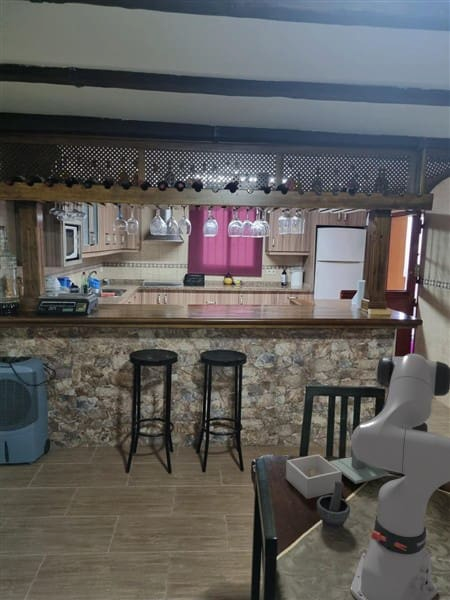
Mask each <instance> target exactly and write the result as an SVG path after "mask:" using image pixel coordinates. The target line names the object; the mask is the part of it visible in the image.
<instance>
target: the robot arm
mask: <svg viewBox="0 0 450 600" xmlns="http://www.w3.org/2000/svg"><path fill="white" fill-rule="evenodd" d="M374 373H375V379H376V381H377V383H378V385H379V386H381V388H382V387H383V388H386V389H388V391H387V396H386V399H385V402H384V404H383V407H382V410H381V411H380V412H379V413H378V414H377V415H376V416H375V417H373V418H372V419H370V420H368V421H365V422H362V423H360V424H359V425H357V427H355V429H354V430H353V433H352V434H351V436H350V446H351V451H352V450H353V453H354V455H355V457H356V458H357V459H358V460H359V461H362V462H364V463H366V464H368V465H371V466H373V467H376V468H381V469H384V470H385V471H392V472H394V473H400V474H402V475H404V476H402V477H400V478H397V479H393V480H389V481H387V482H386V483H384V484H383V485H382V486H381V487H380V489H379V491H378V497H377V498H378V500H377V501H378V503H377V514H376V515H375V521H374V525H373V530H371V534H370V535H371V536H370V540H369V543H368V545H367V546H368V547H367V549H365V552H363V553H362V554H361V557H360V560H359V563H358V565H357V569H356V571H355V574H354V577H353V579H352V582H351V585H350V593H351V595H353V597H354V598H355V599H356V600H432V599H433V598H434V597H435V596H436V595H438V588H437V585H436V584H435V583H434V582H433V581H432V557H431V555H430V553H429V551H428V549H427V547H426V543H427V542H426V540H427V529H426V526H425V524H426V523H425V522H426V513H427V508H428V503H429V500H430V498H431V496H432V495H433V494H434V492H436V490H437V489H439V488H440V487H442V486H443V485H445V484H447V483H450V438H449V437H447V436H444V435H442V434H438V433H436V432H430V431H429V430H428V424H427V423H426V422H427V421H428V420H429V418H430V417H431V414H432V405H433V404H432V402H433V400H432V399H433V396H434V397H445V396H446V395H448V394H449V393H450V366H449V365H448V364H446V363H444V362H442V361H439V360H436V361H433V360H431V359H430V360H429V359H427V358H426V357H425V356H423V355H421V354H418V353H408V354H405V355H404V356H393V355H383V356H381V357H380V358H379V359H378V361H377V363H376V365H375V369H374Z"/></svg>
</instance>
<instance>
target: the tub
mask: <svg viewBox="0 0 450 600" xmlns="http://www.w3.org/2000/svg"><path fill="white" fill-rule="evenodd" d="M285 463H286V465H285V467H286V468H285V479H286V480H287V481H288V482H289V484H291V485H292V486H293V487H294V488H295V489H297V491H298V492H299V493H300V494H301V495H303V497H305V499H308V500H309V499H312V498H315V497H322V496H326V495H330V494H333V491H334V488H335V481H339V482H342V477H343V476H342V475H343V474H342V471H340V470H339V469H338V468H336V467H335V466H334V465H332V464H331V463H330V462H329V461H328V459H325V457H323V456H321V455H320V454H319V453H317V454H312V455H308V456H303V457H297V458H292V459H288V460H287V459H286V462H285Z"/></svg>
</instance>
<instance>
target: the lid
mask: <svg viewBox="0 0 450 600" xmlns="http://www.w3.org/2000/svg"><path fill="white" fill-rule="evenodd" d="M328 462H330V463H331V464H332V465H334V466H335V467H336V468H338V469H339V470H340V471H342V475H343V476H345V477H346V478H347V479H349V480H350V481H351V482H353V483H354V484H355V485H358V484H360V483H364V482H369V481H373V480H378V479H382V478H383V477H386V476H389V475H390V472H388V470H385V469H381V468H376V467H373V466H371V465H368V464H366V463H364V462H362V461H359V460H358V459H357V458H356V457H355V455H354V453H353V450H352V449H351V456H349V457H345V458H340V459H339V458H338V459H334V460H330V461H328Z"/></svg>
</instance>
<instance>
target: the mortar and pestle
mask: <svg viewBox="0 0 450 600" xmlns="http://www.w3.org/2000/svg"><path fill="white" fill-rule="evenodd" d="M344 485H345V484H344V483H343V482H342V481H341V482H339V481H335V488H334V491H333V493H332V494H331V495H330V494H325V495H321V496H319V498H318V499H317V501H316V510H317V513H318V515H319V517H320V519H321V525H322V526H323V528H324V529H325V530H327V531H328V532H334V533H337V532H338V533H339V532H340V531H342V530H343V528H344V524H345V523H346V522H347V519H348V518H349V516H350V513H351V506H350V504H349V501H347V500H346V499H344V498H343V497H342V495H343V488H344V487H345V486H344Z"/></svg>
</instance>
